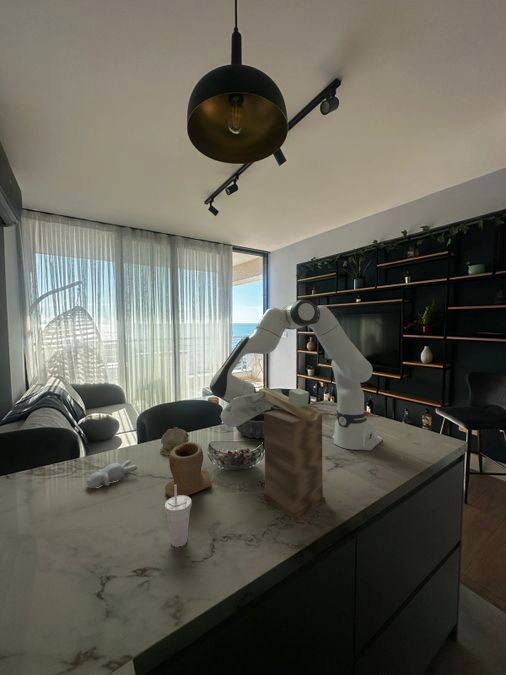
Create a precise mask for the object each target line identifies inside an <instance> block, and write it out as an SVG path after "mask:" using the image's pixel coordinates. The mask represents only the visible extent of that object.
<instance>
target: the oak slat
mask: <svg viewBox="0 0 506 675" xmlns="http://www.w3.org/2000/svg"><path fill="white" fill-rule="evenodd" d="M261 391H264V392H265V395H266V396H265V397H263V399H265V400H267V401H269V402H271V403H273V404H275V405H274V406H277V407H278V408H283V409H285V410H286V411H288V412H290V413H292V414H294V415H296V416H298V417H300V418H302V419H304V420H306V421H308V422H310V421H313V420H316V419H317V415H318V413H319V410H317V409H315V408H313V407H310V406H309V405H308V406H304V407H301V408H297V407H295V406H292V405H290V404H288V400H289V396H287V395H285V394H281V393H279V392H276V391H274V390H272V388H269V387H262V388H259V389H258V393H259V392H261Z"/></svg>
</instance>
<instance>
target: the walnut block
mask: <svg viewBox="0 0 506 675" xmlns="http://www.w3.org/2000/svg"><path fill="white" fill-rule="evenodd" d="M280 408H281V407H280ZM264 436H265V438H264V479H265V480H264V483H265V488H264V489H265V490H264V491H265V492H264V493H263V494H262V498H263V499H264V500H266V501H267V502H269V503H271V505H273V506H275V507H276V508H278V509H279V510H280V511H281V512H283V513H284V514H285V515H287V516H288V517H289V518H291V519H293V520H295V519H297V518H299V517H300V516H302V515H304V514H306V513H308V512H309V511H310V510H312V509H314V508H317V507H318V506H320V505H321V504H323V503H324V502H326V497H325V496H324V494H323V492H324V491H323V490H324V488H323V481H324V480H323V414H322V413H320V412H318V415H317V419H316V420H313V421H310V422H308V421H306V420H304V419H302V418H300V417H298V416H296V415H294V414H292V413H290V412H288V411H286V410H285V409H283V408H281V409H277V410H273V411H269V412H265V413H264Z"/></svg>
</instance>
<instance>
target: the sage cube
mask: <svg viewBox="0 0 506 675" xmlns="http://www.w3.org/2000/svg"><path fill="white" fill-rule="evenodd" d="M288 397H289V400H288V404H290V405H292V406H295V407H297V408H301V407H304V406H309V398H310V392H309V391H306V390H304V389H301V388H299V387H298V388H294V389H289V390H288Z"/></svg>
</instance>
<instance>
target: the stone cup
mask: <svg viewBox="0 0 506 675" xmlns="http://www.w3.org/2000/svg"><path fill="white" fill-rule="evenodd" d="M168 457H169V460H168V462H169V465H168V466H169V469H170V470H169V471H170V472H171V475H172V478H173V480H171V481H169V482H168V483H166V484H165V487H164V491H165V493H166V495H167V496H168V497H170V498H172V497H175V494H174V485H177V496H179V495H184V496H188V497H189V496H190V495H193V494H195V493H198V492H200V491H202V490H204V489H206V488H209V487H211V486H212V485H213V482H212V480H211V477H210V471H209V470H208V469H206V468H205V469H203V470H202V467H203V462H204V451H203V448H202V446H201V445H200V444H199V443H197V442H194V441H192V442H190V441H188V443H183V444H181V445H179V446H177V447H175V448H174V449H173V450H172V451H171V453H170V456H168Z"/></svg>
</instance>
